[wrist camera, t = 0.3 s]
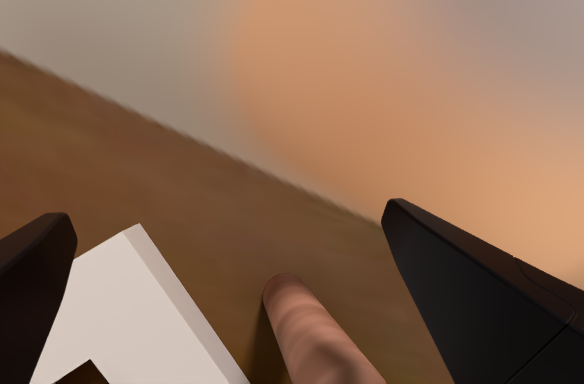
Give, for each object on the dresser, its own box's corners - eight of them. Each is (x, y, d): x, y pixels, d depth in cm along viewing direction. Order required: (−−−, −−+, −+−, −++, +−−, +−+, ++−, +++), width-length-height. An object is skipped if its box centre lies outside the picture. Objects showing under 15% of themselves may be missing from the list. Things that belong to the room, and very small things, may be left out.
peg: (313, 299, 25) (404, 413, 13) (277, 325, 25) (336, 473, 12) (291, 264, 25) (364, 347, 12) (254, 290, 24) (290, 406, 12)
